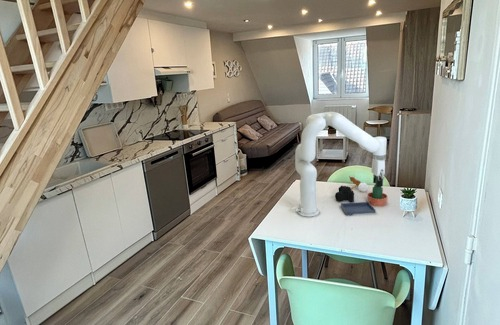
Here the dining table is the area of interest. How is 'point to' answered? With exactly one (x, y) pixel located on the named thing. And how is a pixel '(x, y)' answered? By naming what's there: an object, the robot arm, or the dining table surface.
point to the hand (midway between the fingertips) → (377, 184)
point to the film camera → (344, 194)
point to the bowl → (377, 200)
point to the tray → (357, 208)
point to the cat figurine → (359, 184)
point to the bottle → (377, 191)
